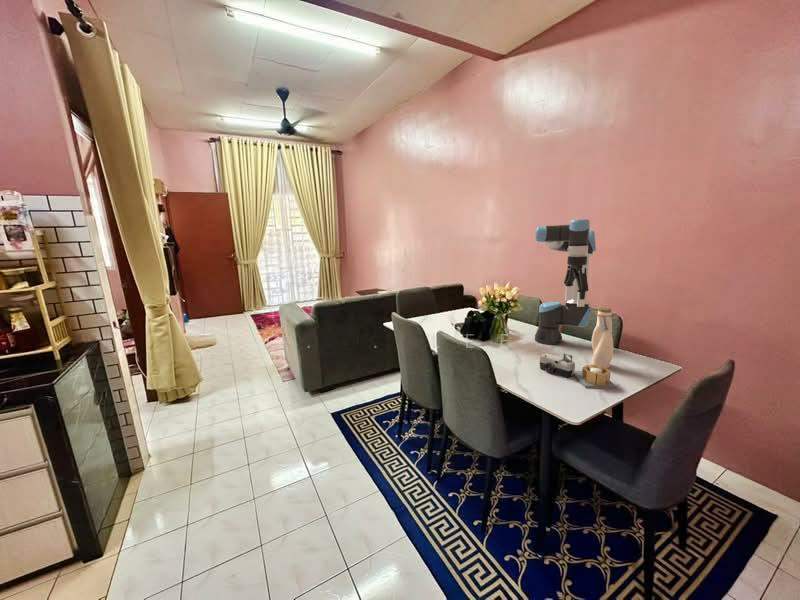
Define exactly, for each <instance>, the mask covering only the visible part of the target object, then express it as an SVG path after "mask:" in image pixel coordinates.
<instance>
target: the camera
mask: <svg viewBox="0 0 800 600" xmlns="http://www.w3.org/2000/svg"><path fill="white" fill-rule="evenodd" d="M567 356H568V357H569V358H570V359H568V357H567ZM539 357H540V358H539V368H540V369H539V370H542V371H546V373H547V374H549V375H551V374H554V375H557V376H559V377H563V378H565V379H569V378H571V377H574V375H573V374H574V371H576V367H575V366H576V365H575V364H576V363H575V361H574V360H573V355H572V354H569V353H563V357H560V356H559V355H558V356H557V355H554V354H550V353H547V352H546V353H545V352H544V353H542V354H541V355H540V356H539Z"/></svg>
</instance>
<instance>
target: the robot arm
mask: <svg viewBox="0 0 800 600" xmlns="http://www.w3.org/2000/svg"><path fill="white" fill-rule="evenodd" d="M590 224H591V223H590V220H589V219H588V218H584V219H582V218H581V219H580V218H579V219H571V220H570V221H569V224H562V225H561V224H560V225H559V224H558V225H540V226H536V230H535V241H536V242H538V243H545V245H546V246H547V248H549V249H550V250H554V251H557V252H564V253H565V252H566V253H567V255H568V256H567V262H566V264H567V270H566V274H565V278H564V281H563V284H564V286H565V297H564V300H565V304H562V302H560V301H547V302H543V303H541V304H540V305H539V310H538V326H537V327H538V328H537V330H536V332H535V334H534V340H535V341H536V342H537V343H540V344H545V345H560V344H562V343H563V336H562V332H561V326H569V327H577V328H579V327H582V328H585V327H587V326H588V324H589V321H590V318H591V313H592V307H591V306H590V303H589V302H588V301H587V292H588V291H589V285H588V284H589V282H588V276H589V264H590V262H589V261H590V257H591V256H593V254H594V253H593V252H596V250H597V247H596V246H597V243H596V235H595V231H593V230H590V227H591V225H590Z"/></svg>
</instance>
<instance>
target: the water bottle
mask: <svg viewBox="0 0 800 600" xmlns="http://www.w3.org/2000/svg"><path fill="white" fill-rule="evenodd" d="M595 314H596V316H597V318H596V326H595V327H594V329H593V331H592V336H591V346H592V352H593V354H592V358H591V362H590V363H591V364H590V365H596V366H601V367H604V368H607V369H608V368H610V367H611V361H612V359H613V357H614V340H613V338H614V337H613V334H612V333H613V320H612V318H613V317H615V315H614V314H613V313H612V308H609V307H599V308H598V310H597V312H596V313H595Z"/></svg>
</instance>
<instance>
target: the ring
mask: <svg viewBox="0 0 800 600" xmlns="http://www.w3.org/2000/svg"><path fill="white" fill-rule="evenodd" d="M590 368H599V369H601V370H602V373H594V372H590ZM581 371H582V379H583V380H584V381H585V382H586V383H589V384H592V385H596V386H605V385H608V384H609V383H610V381H611V373H612V372H611V371H610V370H609V369H608V368H604V367H601V366H596V365H592V364H587V365H584V366H583V367H582V369H581Z"/></svg>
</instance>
